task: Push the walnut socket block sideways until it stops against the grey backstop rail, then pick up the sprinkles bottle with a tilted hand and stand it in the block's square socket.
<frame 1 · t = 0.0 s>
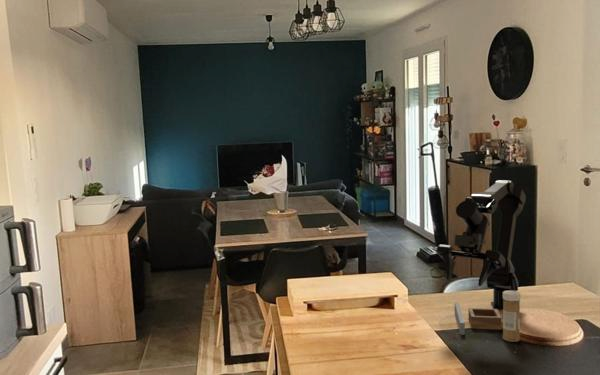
hand: (463, 283, 156), 15 cm above the counter, tool tilted 35°, fingers open, 9 cm apart
sprinkles bottle: (511, 340, 152), on the counter
socket block: (484, 318, 165), point 2 cm above the counter, slide at 0.0 cm
backstop rail: (459, 323, 166), on the counter
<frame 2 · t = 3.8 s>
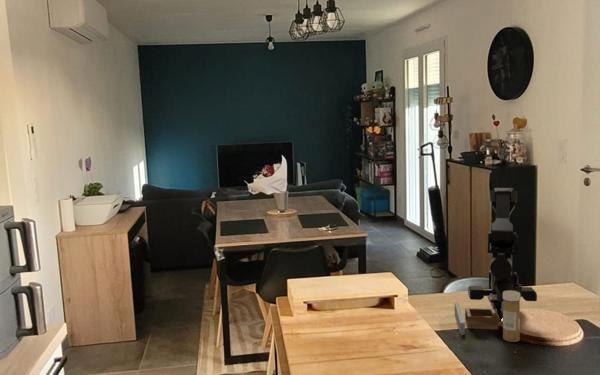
hand: (501, 321, 164), 1 cm above the counter, tool pointing down, fingers closed
socket block: (481, 318, 165), point 2 cm above the counter, slide at 1.0 cm, touching gripper
everything else where it was.
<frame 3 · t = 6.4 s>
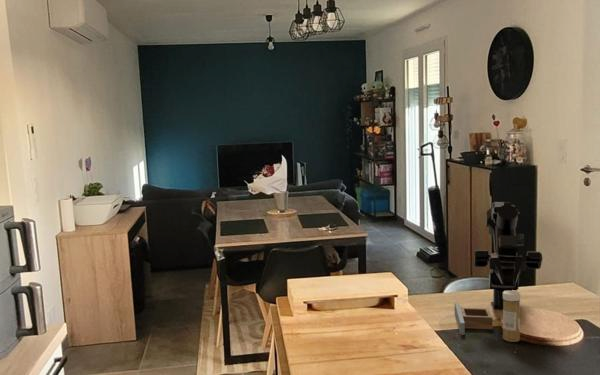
hand: (508, 284, 159), 13 cm above the counter, tool tilted 45°, fingers open, 3 cm apart
socket block: (475, 318, 165), point 2 cm above the counter, slide at 2.5 cm
everything else where it was.
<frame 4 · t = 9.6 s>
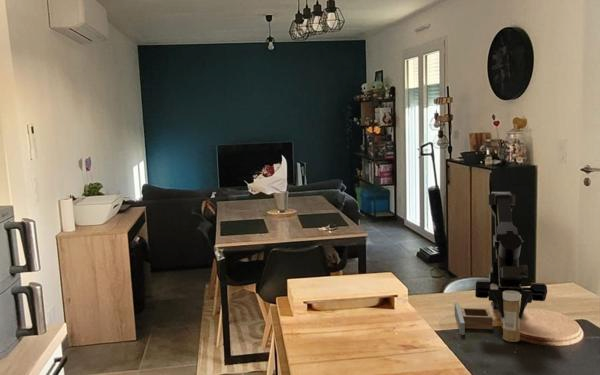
hand: (511, 318, 150), 7 cm above the counter, tool tilted 45°, fingers closed on sprinkles bottle, 4 cm apart
sprinkles bottle: (511, 340, 152), on the counter, touching gripper
everything else where it was.
when the fingers open (9 cm above the counter, at t = 12.6 s): sprinkles bottle drops 1 cm, resting on socket block.
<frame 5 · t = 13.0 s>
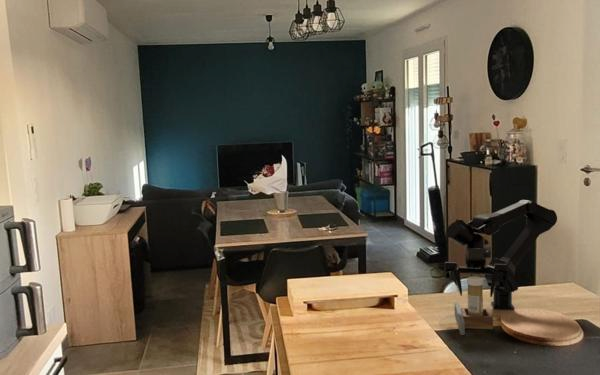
hand: (476, 295, 163), 9 cm above the counter, tool tilted 45°, fingers open, 8 cm apart
sprinkles bottle: (475, 322, 166), resting on socket block
socket block: (476, 318, 165), point 2 cm above the counter, slide at 2.3 cm, touching sprinkles bottle
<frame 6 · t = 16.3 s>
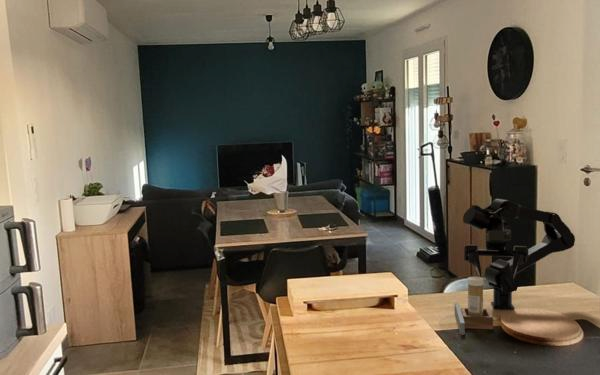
hand: (496, 277, 166), 14 cm above the counter, tool tilted 45°, fingers open, 9 cm apart
nothing on the counter moved.
at the end: socket block slide at 2.3 cm; sprinkles bottle 0.3 cm from the socket block (horizontally); sprinkles bottle tilted 0° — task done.
